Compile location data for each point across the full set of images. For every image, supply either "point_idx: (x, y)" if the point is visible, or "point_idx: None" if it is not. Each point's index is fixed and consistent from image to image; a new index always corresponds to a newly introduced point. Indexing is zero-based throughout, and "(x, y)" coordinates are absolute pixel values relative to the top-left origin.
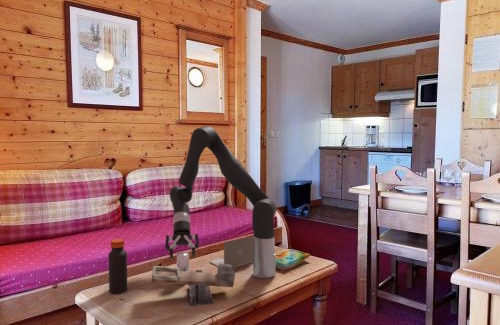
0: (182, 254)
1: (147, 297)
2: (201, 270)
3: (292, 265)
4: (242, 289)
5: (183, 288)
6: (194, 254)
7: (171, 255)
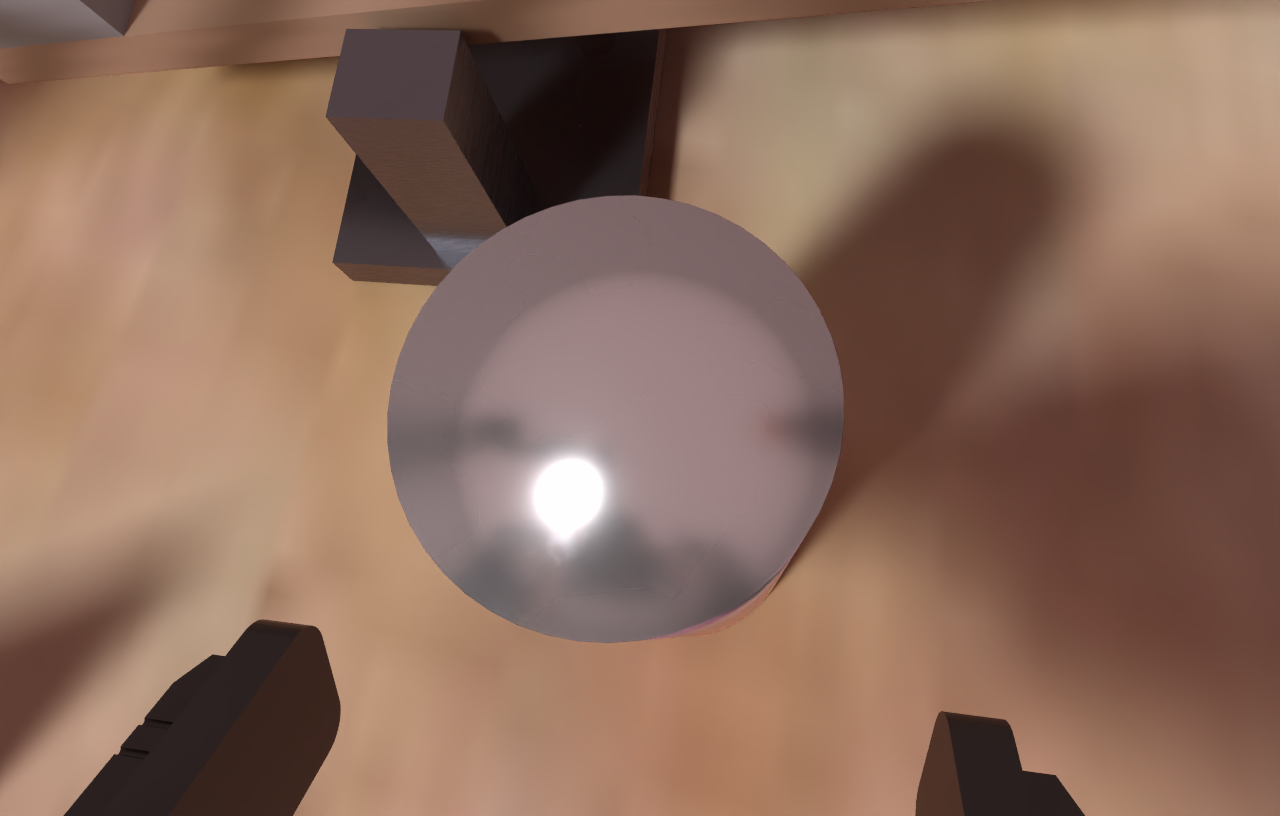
0: (631, 353)
1: (1256, 113)
2: (340, 81)
3: None
4: (8, 97)
5: None
6: (206, 672)
7: (1011, 750)
